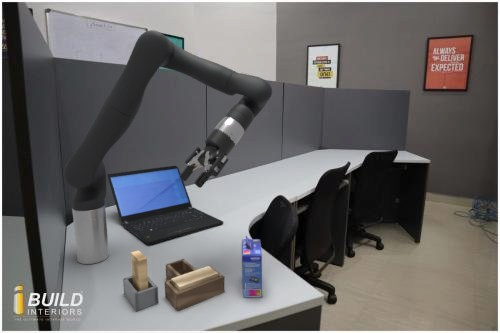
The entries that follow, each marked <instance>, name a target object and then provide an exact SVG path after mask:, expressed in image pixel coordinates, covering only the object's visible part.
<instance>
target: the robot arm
mask: <svg viewBox="0 0 500 333" xmlns="http://www.w3.org/2000/svg"><path fill="white" fill-rule="evenodd" d="M159 68H164V69H168V70H171V71H175V72H178V73H180V74H181V73H182V74H184V75H185V76H187V77H190V78H192V79H194V80H196V81H198V82H199V83H202V84H203V85H204V86H207V87H209V88H212V89H214V90H216V91H218V92H220V93H223V94H225V95H227V96H232V97H233V96H235V95H237V94H238V95H240V96H242V98H241V99H240V100H239V102H237V103H236V104H234V105H233V107H231V109H230V110H229V111H228V112H227V113H226V114H225V116H224V117H223V118H222V119H221V120H220V121H219V122H218V123H217V125H216V126H215V127H214V128H213V129H212V131H211V132H210V134H208V136H207V137H206V138H205V140H204V143H205V147H204V148H203V149H201V147H200V146H198V147H196V148H195V150H193V151H192V153H191V154H190V156H188V157H187V159H185V161H184V163H185V164H186V167H185V168H184V170H182V172H180V176H179V177H180V178H181V179H182V180H183V182H186V181H187V180H188V179H189V178H190V176H191V175H192V174H193V173H194V171H195V170H197V169H200V168H203V167H204V169H203V171H202V172H201V173H200V174H199V176H198V177H197V178H196V179H195V180H194V182H193V183H194V185H195V186H197V188H200V189H201V188H202V187H203V186H204V184H206V183H207V181H208V180H209V179H210V178H212V177H215V178H216V177H218V175H220V173H221V171H222V170H223V169H224V167H225V166H226V164H227V163H228V162H229V158H228V156H229V155H230V153H231V152H232V151H233V150H234V148H235V147H236V146H237V144H238V142H240V140H241V138H242V137H243V135H244V134H245V132H246V131H247V129H248V128H249V127H250V125H252V123H253V121H254V120H255V118H256V117H257V116H259V113H261V111H262V110H263V109H264V107H266V105H267V103H268V102H269V101H270V99H271V97H272V95H273V89H272V88H273V87H272V85H271V84H270V83H269V82H268V81H267V80H266V79H264V78H262V77H259V76H255V75H252V74H246V73H242V72H241V73H239V72H237V71H235V70H233V69H231V68H229V67H226V66H224V65H222V64H220V63H217V62H215V61H211V60H210V59H205V58H203V57H200V56H197V55H195V54H193V53H191V52H189V51H187V50H185V49H184V48H182V47H180V46H179V45H178V44H176V43H175V42H173V41H171V40H170V39H169V38H168V37H167V36H166V35H165V34H163V33H162V32H160V31H157V30H155V29H154V30H147V31H145V32H143V33H142V34H141V35H140V36H138V38H137V40H136V42H135V43H134V47H133V48H132V50H131V53H130V56H129V58H128V61H127V63H126V65H125V67H124V69H123V71H122V73H121V74H120V76H119V77H118V79H117V80H116V82H115V83H114V84H113V86H112V88H111V90H110V92H109V93H108V95H107V96H106V98H105V100H104V101H103V102H102V105H101V106H100V108H99V110H98V111H97V114H96V116H95V118H94V119H93V121H92V123H91V125H90V127H89V129H88V130H87V133H86V134H85V136H84V138H83V140H82V141H81V143H80V145H78V147H77V148H76V150H75V151H74V153H73V154H72V155H71V156H70V158H69V159H68V161H66V164H65V165H64V168H63V178H64V181H65V183H66V184H67V185H68V186H69V187H71V188H73V189H76V191H75V193H74V195H73V198H72V199H71V211H72V219H73V220H72V221H73V227H74V228H73V229H74V239H75V248H76V249H75V250H76V258H77V259H76V260H77V262H78V263H80V264H83V265H92V264H97V263H101V262H103V261H106V259H108V258H109V257H110V251H109V239H108V238H109V237H108V236H109V235H108V225H107V214H106V213H107V211H106V196H107V172H106V166H105V164H104V161H103V160H104V158H105V157H106V155H107V153H108V152H109V151H110V150H111V149H112V148H113V146H114V145H115V144H116V143H117V142H118V141H119V140H120V139H121V138H122V137H123V136H124V135H125V133H126V132H127V131H128V130H129V128H130V126H131V125H132V123H133V122H134V120H135V118H136V117H137V115H138V113H139V111H140V108H141V106H142V103H143V98H144V94H145V92H146V89H147V87H148V85H149V83H150V81H151V80H152V78H153V77H154V75H155V73H157V71H158V70H159Z"/></svg>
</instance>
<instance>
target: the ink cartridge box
mask: <svg viewBox="0 0 500 333" xmlns="http://www.w3.org/2000/svg"><path fill="white" fill-rule="evenodd" d="M262 250H263V249H262V244H261V239H259V238H255V239H254V238H248V236H247V235H245V238H244V239H241V281H242V283H241V284H242V297H243V298H263V296H264V295H263V294H264V293H263V292H264V291H263V288H264V287H263V283H264V282H263V251H262Z"/></svg>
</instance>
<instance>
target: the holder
mask: <svg viewBox="0 0 500 333" xmlns="http://www.w3.org/2000/svg"><path fill="white" fill-rule="evenodd" d="M122 282H123V295H124V296H125V298H126V299H127V300H128V302H129V304H130V305H131V306H132V307H133V309H134V310H135V312H139V311H142V310H145V309H147V308H150V307H152V306H154V305H157V304H158V305H159V287H158V286H157V284H155V282H154V281H153V280H152V279H151V278H150V276H148V289H145V290H142V291H139V292H137V291H136V290H135V288H134V287H133V279H132V275H130V276H127V277H124V278H123V279H122Z"/></svg>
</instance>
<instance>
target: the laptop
mask: <svg viewBox="0 0 500 333" xmlns="http://www.w3.org/2000/svg"><path fill="white" fill-rule="evenodd" d="M180 174H181V171H180V169H179V167H178V166H177V165H168V166H163V167H154V168H146V169H139V170H138V169H137V170H130V171H125V172H124V171H122V172H115V173H107V174H106V177H107V180H108V183H109V187H110V190H111V192H112V197H113V199H114V203H115V204H114V205H115V206H116V211H117V213H118V217H119V220H120V223H121V225H122V227H123V228H125V229H126V230H128V231H129V232H130V233H132V234H133V235H134V236H135V237H137V238H138V239H139V240H141V242H144V243H145V244H147V245H148V246H151V245H154V244H157V243H161V242H164V241H167V240H170V239H175V238H178V237H182V236H185V235H188V234H192V233H196V232H199V231H202V230H206V229H209V228H213V227H216V226H220V225H222V224H224V221H222V220H221V219H219V218H217V217H214V216H212V215H210V214H208V213H206V212H204V211H203V210H200V209H197V208H196V207H193V205H192V203H191V200H190V197H189V193H188V191H187V190H188V189H187V188H186V185H185V181H183V180H182V179H181V178H180V177H179V176H180Z"/></svg>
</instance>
